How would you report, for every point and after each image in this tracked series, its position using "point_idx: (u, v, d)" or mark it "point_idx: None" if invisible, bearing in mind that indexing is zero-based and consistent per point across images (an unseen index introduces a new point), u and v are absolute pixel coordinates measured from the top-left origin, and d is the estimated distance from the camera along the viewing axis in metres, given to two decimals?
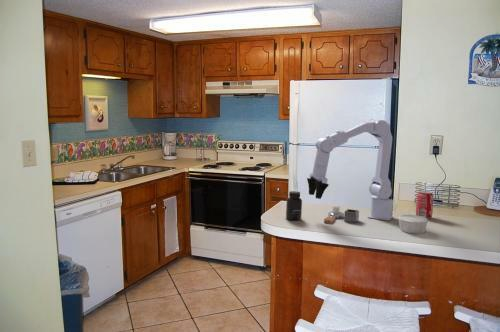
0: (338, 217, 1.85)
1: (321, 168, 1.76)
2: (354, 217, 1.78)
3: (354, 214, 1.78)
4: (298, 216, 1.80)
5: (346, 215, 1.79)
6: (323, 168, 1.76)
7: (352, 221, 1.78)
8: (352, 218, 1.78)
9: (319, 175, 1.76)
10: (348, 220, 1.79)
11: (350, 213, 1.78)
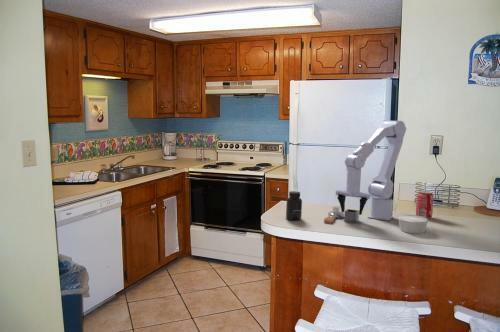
0: (338, 217, 1.85)
1: (359, 185, 1.77)
2: (354, 217, 1.78)
3: (354, 214, 1.78)
4: (298, 216, 1.80)
5: (346, 215, 1.79)
6: None
7: (352, 221, 1.78)
8: (352, 218, 1.78)
9: (358, 192, 1.77)
10: (348, 220, 1.79)
11: (350, 213, 1.78)
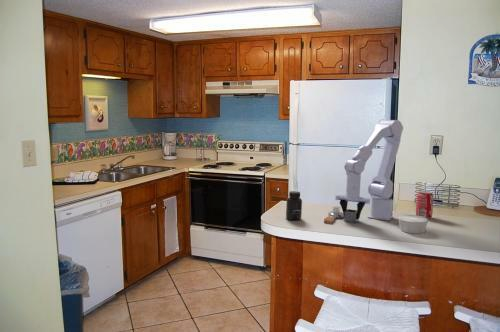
0: (338, 217, 1.85)
1: (359, 190, 1.77)
2: (354, 217, 1.78)
3: (354, 214, 1.78)
4: (298, 216, 1.80)
5: (346, 215, 1.79)
6: (359, 189, 1.78)
7: (352, 221, 1.78)
8: (352, 218, 1.78)
9: (358, 197, 1.78)
10: (348, 220, 1.79)
11: (350, 213, 1.78)
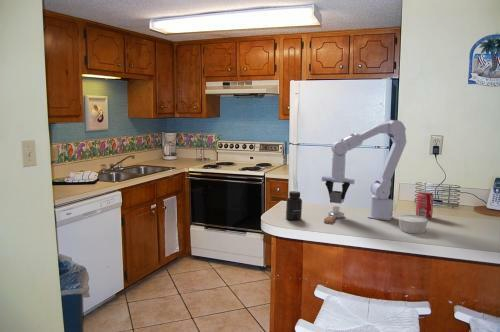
0: (338, 217, 1.85)
1: (344, 171, 1.84)
2: (339, 198, 1.84)
3: (339, 195, 1.84)
4: (298, 216, 1.80)
5: (331, 196, 1.86)
6: (344, 170, 1.84)
7: (337, 202, 1.85)
8: (337, 199, 1.84)
9: (343, 178, 1.84)
10: (333, 201, 1.85)
11: (335, 194, 1.85)
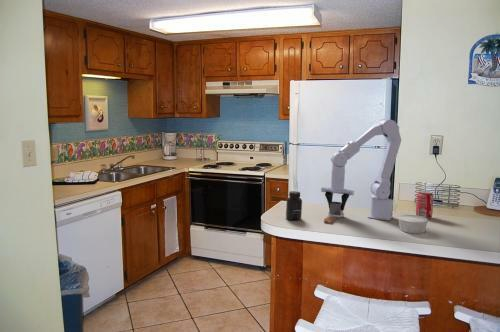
0: (338, 217, 1.85)
1: (343, 182, 1.84)
2: (339, 209, 1.85)
3: (338, 206, 1.84)
4: (298, 216, 1.80)
5: (330, 207, 1.86)
6: None
7: (337, 213, 1.85)
8: (337, 210, 1.85)
9: (342, 189, 1.85)
10: (333, 212, 1.86)
11: (335, 205, 1.85)
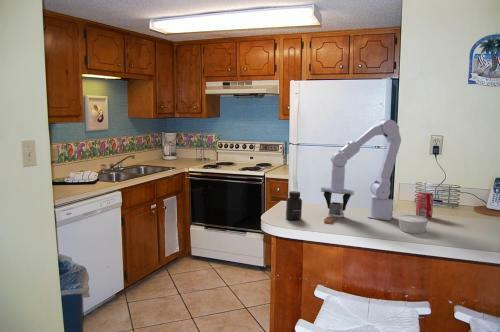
0: (338, 217, 1.85)
1: (343, 182, 1.84)
2: (338, 209, 1.85)
3: (338, 206, 1.85)
4: (298, 216, 1.80)
5: (330, 208, 1.86)
6: None
7: (336, 213, 1.85)
8: (336, 210, 1.85)
9: (342, 189, 1.85)
10: (333, 212, 1.86)
11: (334, 206, 1.85)
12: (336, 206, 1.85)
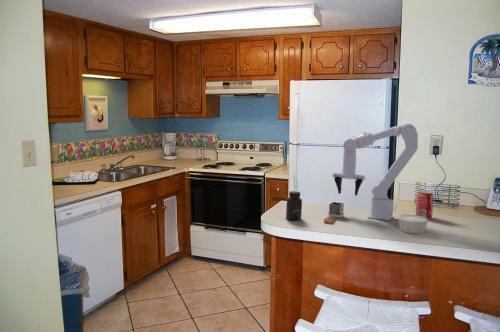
0: (338, 217, 1.85)
1: (354, 167, 1.88)
2: (338, 209, 1.85)
3: (338, 206, 1.85)
4: (298, 216, 1.80)
5: (330, 208, 1.86)
6: (355, 166, 1.89)
7: (336, 213, 1.85)
8: (336, 210, 1.85)
9: (354, 174, 1.88)
10: (333, 212, 1.86)
11: (334, 206, 1.85)
12: (336, 206, 1.85)
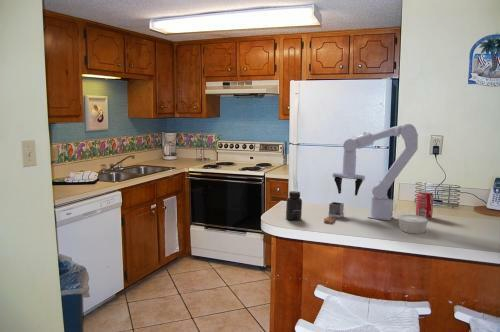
0: (338, 217, 1.85)
1: (354, 167, 1.88)
2: (338, 209, 1.85)
3: (338, 206, 1.85)
4: (298, 216, 1.80)
5: (330, 208, 1.86)
6: (355, 166, 1.89)
7: (336, 213, 1.85)
8: (336, 210, 1.85)
9: (354, 174, 1.88)
10: (332, 212, 1.86)
11: (334, 205, 1.85)
12: (336, 206, 1.85)
